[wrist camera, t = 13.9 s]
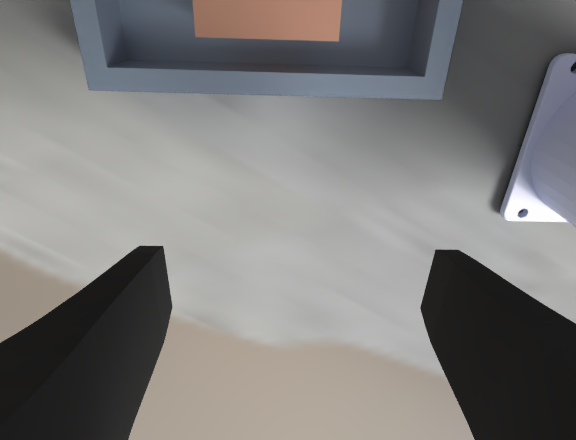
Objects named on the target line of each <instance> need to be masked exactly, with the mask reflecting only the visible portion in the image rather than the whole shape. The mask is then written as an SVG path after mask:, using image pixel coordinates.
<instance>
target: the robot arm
mask: <svg viewBox="0 0 576 440" xmlns="http://www.w3.org/2000/svg"><path fill="white" fill-rule="evenodd" d="M575 62H576V54H569V53H564V54H559V55H558V56H556V57H555V58H554V59H553V60H552V61H551V63H550V65H549V67H548V70H547V73H546V76H545V79H544V82H543V85H542V88H541V91H540V94H539V97H538V100H537V103H536V106H535V109H534V111H533V114H532V117H531V120H530V123H529V126H528V129H527V132H526V135H525V138H524V141H523V144H522V147H521V150H520V153H519V156H518V159H517V162H516V165H515V168H514V171H513V174H512V177H511V180H510V183H509V186H508V188H507V191H506V194H505V197H504V200H503V203H502V206H501V209H500V215H501V216H502V217H503V218H504V219H505V220H506V221H529V222H569V223H571V224H572V225H573V226H575V227H576V69H575V70H574V71H572V72H571V66H572V65H573V63H575ZM521 209H524V210H523V212H521V213H520V214H518V212H519V211H520V210H521ZM420 309H421V312H422V316H423V319H424V323H425V326H426V329H427V332H428V336H429V339H430V342H431V344H432V346H433V349H434V351H435V353H436V355H437V358H438V360H439V362H440V364H441V366H442V369H443V371H444V373H445V375H446V377H447V379H448V381H449V384H450V386H451V388H452V390H453V392H454V394H455V397H456V398H457V401H458V403H459V405H460V407H461V409H462V412H463V414H464V416H465V418H466V420H467V422H468V425H469V427H470V430H471V432H472V434H473V437H474V439H475V440H576V324H575V323H574V322H572V321H570V320H569V319H567V318H565V317H563V316H562V315H560V314H558V313H557V312H555V311H553V310H552V309H550V308H548V307H547V306H545V305H544V304H542V303H540V302H539V301H537V300H536V299H534V298H532V297H531V296H529V295H528V294H526V293H525V292H523V291H522V290H520V289H519V288H517V287H516V286H514V285H512V284H511V283H509V282H508V281H506V280H505V279H503V278H502V277H500V276H499V275H497V274H496V273H494V272H493V271H491V270H490V269H488V268H487V267H485V266H484V265H482V264H481V263H479V262H478V261H476V260H475V259H473V258H471V257H470V256H468V255H466V254H465V253H463V252H461V251H459V250H435V254H434V258H433V262H432V266H431V270H430V273H429V277H428V281H427V285H426V289H425V293H424V296H423V300H422V304H421V308H420ZM171 310H172V301H171V295H170V288H169V281H168V275H167V268H166V261H165V255H164V248H163V246H139V247H137V248H136V249H134V250H133V251H132V252H130V253H129V254H128V255H126V256H125V257H124V258H122V259H121V260H120V261H119V262H117V263H116V264H115V265H113V266H112V267H111V268H110V269H108V270H107V271H106V272H104V273H103V274H102V275H100V276H99V277H98V278H96V279H95V280H94V281H93V282H91V283H90V284H89V285H87V286H86V287H85V288H83V289H82V290H81V291H79V292H78V293H76V294H75V295H74V296H72V297H71V298H69V299H68V300H66V301H65V302H63V303H62V304H61V305H59V306H58V307H56V308H55V309H53V310H52V311H51V312H49V313H48V314H46V315H45V316H43V317H42V318H40V319H39V320H37V321H36V322H34V323H33V324H31V325H29V326H28V327H26V328H25V329H23V330H21V331H20V332H18V333H17V334H15V335H13V336H12V337H10V338H8V339H6V340H5V341H3V342H1V343H0V440H128V438H129V435H130V432H131V429H132V426H133V423H134V420H135V417H136V415H137V412H138V410H139V407H140V405H141V402H142V399H143V396H144V394H145V391H146V389H147V386H148V383H149V381H150V378H151V376H152V373H153V370H154V368H155V365H156V362H157V360H158V357H159V354H160V351H161V349H162V346H163V343H164V340H165V336H166V332H167V328H168V323H169V319H170V315H171Z"/></svg>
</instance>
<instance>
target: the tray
mask: <svg viewBox="0 0 576 440" xmlns="http://www.w3.org/2000/svg"><path fill="white" fill-rule="evenodd" d="M70 4H71V8H72V13H73V18H74V23H75V27H76V32H77V37H78V41H79V46H80V51H81V55H82V60H83V65H84V70H85V74H86V79H87V84H88V88H89V90H93V91H131V92H168V93H205V94H242V95H279V96H317V97H354V98H391V99H428V100H442V95H443V91H444V86H445V81H446V77H447V72H448V68H449V63H450V59H451V54H452V50H453V45H454V40H455V36H456V31H457V27H458V22H459V18H460V13H461V9H462V4H463V0H342V8H341V20H340V31H339V41H310V40H277V39H243V38H209V37H195V25H194V12H193V0H70Z"/></svg>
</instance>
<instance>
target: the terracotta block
mask: <svg viewBox="0 0 576 440" xmlns="http://www.w3.org/2000/svg"><path fill="white" fill-rule="evenodd" d="M341 8H342V0H193V12H194V25H195V37H209V38H243V39H277V40H310V41H339V31H340V20H341Z"/></svg>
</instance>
